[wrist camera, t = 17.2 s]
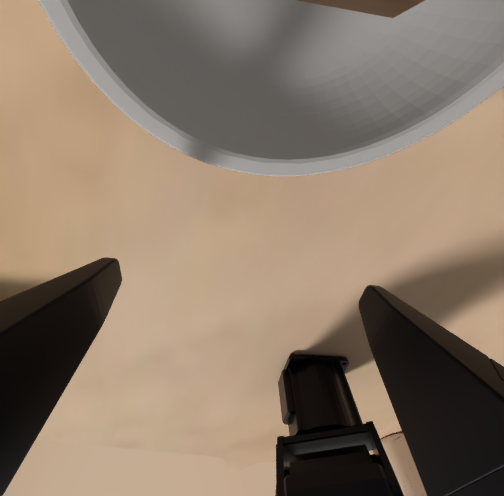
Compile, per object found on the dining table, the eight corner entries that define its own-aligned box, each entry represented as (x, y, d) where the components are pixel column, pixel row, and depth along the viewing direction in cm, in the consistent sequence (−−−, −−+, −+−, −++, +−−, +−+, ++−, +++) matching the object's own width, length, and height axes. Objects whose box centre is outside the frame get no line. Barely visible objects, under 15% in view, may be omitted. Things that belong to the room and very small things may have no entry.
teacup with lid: (368, 453, 41) (406, 563, 31) (379, 431, 36) (429, 555, 26) (436, 449, 41) (497, 559, 31) (457, 427, 36) (537, 550, 26)
